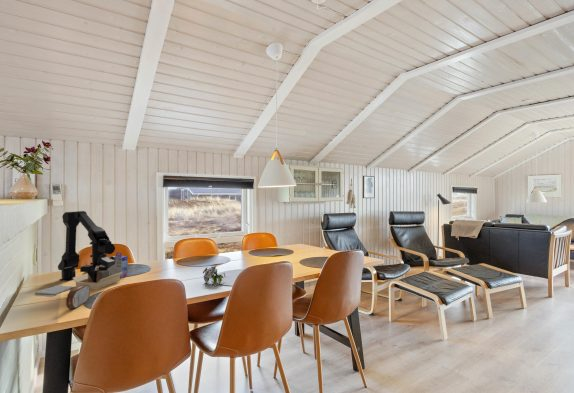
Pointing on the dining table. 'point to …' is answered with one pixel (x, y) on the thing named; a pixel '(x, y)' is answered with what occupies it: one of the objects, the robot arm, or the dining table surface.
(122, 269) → the ink cartridge box
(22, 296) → the dining table surface
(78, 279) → the beige tray
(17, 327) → the dining table surface
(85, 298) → the tin
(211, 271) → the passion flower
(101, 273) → the walnut block
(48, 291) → the felt pad
